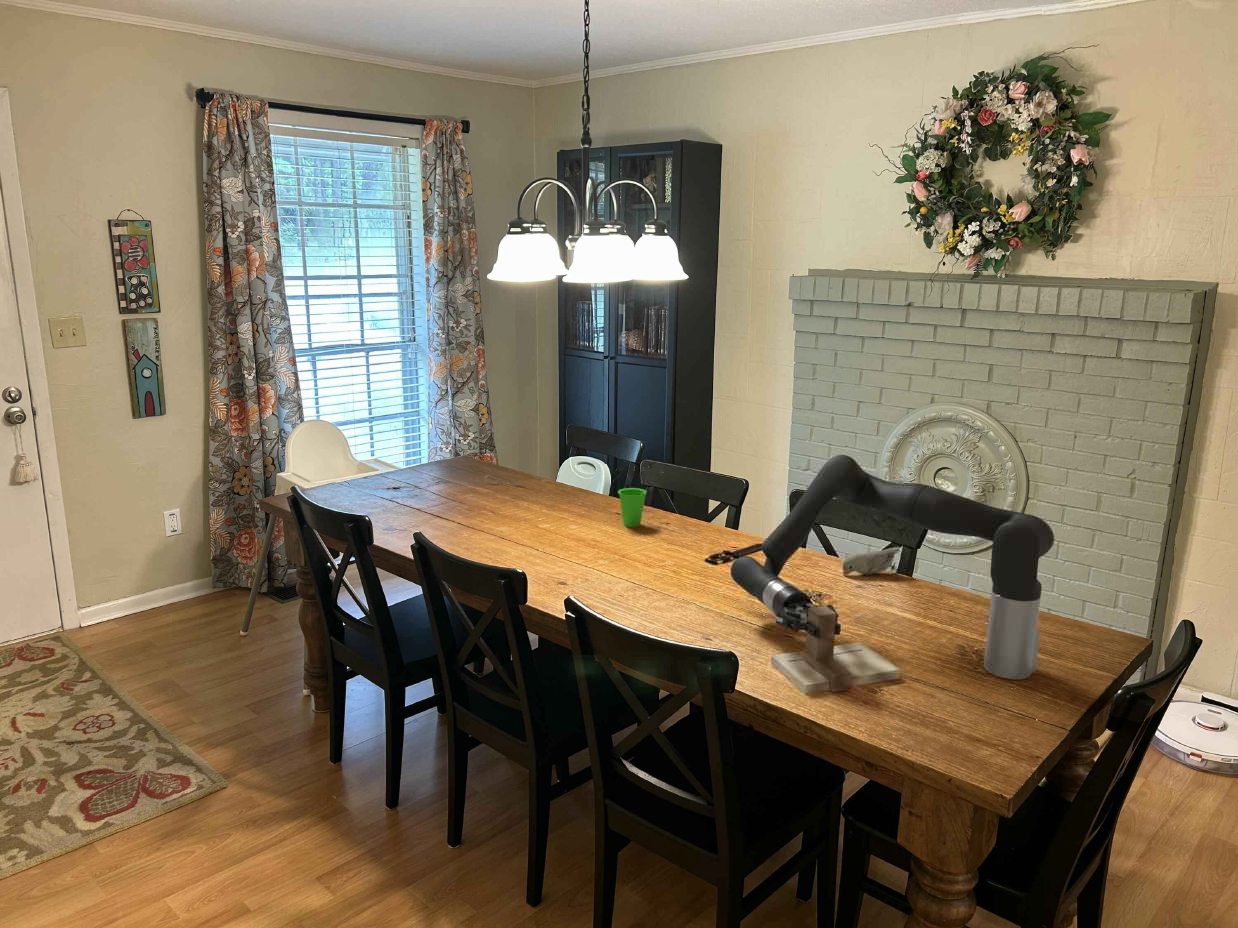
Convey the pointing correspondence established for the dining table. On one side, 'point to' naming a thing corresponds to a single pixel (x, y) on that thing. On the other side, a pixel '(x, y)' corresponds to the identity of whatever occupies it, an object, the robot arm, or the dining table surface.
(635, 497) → the cup
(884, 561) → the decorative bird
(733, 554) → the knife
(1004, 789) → the dining table surface
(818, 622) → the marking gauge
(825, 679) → the maple board
